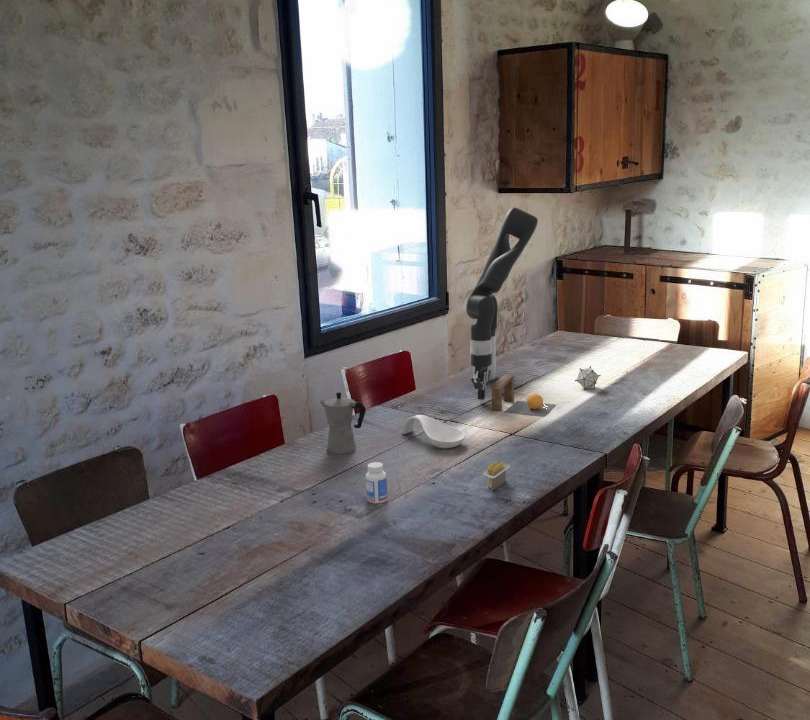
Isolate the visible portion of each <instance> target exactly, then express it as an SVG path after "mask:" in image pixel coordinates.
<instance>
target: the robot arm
mask: <svg viewBox="0 0 810 720" xmlns="http://www.w3.org/2000/svg"><path fill="white" fill-rule="evenodd" d="M537 226H538V218H537V217H536V216H535V215H533V214H530V213H528V212H526V211H524V210H522V209H520V208H517V207H511V208H510V209H509V210H508V211H507V213H506V215H505V217H504V219H503V222H502V225H501V228H500V230H499V233H498V236H497V239H496V241H495V244H494V246H493V248H492V250H491V252H490V255H489V256H488V258H487V261H486V263H485V265H484V268H483V270H482V272H481V275H480V277H479V279H478V281H477V283H476V285H475V286H474V288H473V290H472V292H471V293H470V294H469V296H468V297H467V302H466V305H465V306H466V307H465V308H466V314H467V317H469V318H471V319H472V320H476V321H474V322H472V324H471V325H470V347H469V348H470V349H469V352H470V355H469V379H470V380H471V383H472V385H473V387H474V389H475V390H477V400H481V401H483V400H484V399H486V389H487V387H488V385H489V381H490V382H491V381H493V380H496V372H497V371H496V331H497V328H498V327H497V325H498V301H497V299H496V296H495V295H494V294H496V293H498V292H500V290H501V289H502V288H503V284H504V283H505V281H506V280H507V279H508V278H509V276H510V275H509V274H510V273H511V270H512V269H513V266H514V264H516V262H517V260H518V259H519V257H520V256H521V255H522V253H523V251H524V249H525V248H526V246H527V245H528V243H529V241H531V240H530V239H531V238H532V237H533V234H534V233H535V232H536V231H535V230H536V228H537ZM510 236H513V237H514V238H516V239H518V240H517V241H518V242H517V243H516V244H515V245H514V246H513V247H511V246H510V245H511V244H510Z"/></svg>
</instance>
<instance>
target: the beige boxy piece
mask: <svg viewBox="0 0 810 720" xmlns="http://www.w3.org/2000/svg"><path fill="white" fill-rule="evenodd" d="M510 468H511V464H510V463H504V461H503V460H502V461H501V462H500V463H498V460H496V461H494V462H493V463H491V464H489V465H488V466H487V469H486V470H484V471H483V475H484V476H485V477H487V478H488V488H489V489H491V492H492V491H494V490H495V489H497V488H499V486H501V485H502V484H504V483H505V482H506V481H507V474H506V473H507V470H508V469H510Z"/></svg>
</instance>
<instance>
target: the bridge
mask: <svg viewBox="0 0 810 720" xmlns="http://www.w3.org/2000/svg"><path fill="white" fill-rule="evenodd" d="M514 385H515V375H514V374H506V373H505V374H504V375H503V376H502V377H501V378H499V379H498V380H497V381H494V383H492V384H491V412H497V413H500V412H502V411H503V402H511V403H512V402H514V399H515V386H514ZM502 393H503V394H502Z"/></svg>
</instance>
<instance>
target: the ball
mask: <svg viewBox="0 0 810 720" xmlns="http://www.w3.org/2000/svg"><path fill="white" fill-rule="evenodd" d="M526 401H527V405H528V407H529V408H531V409H533V410H537V409H539V408H541V407H542V405H543V403H544V399H543V396H541V395H540V394H539V393H531V394H529V395H528V397H527V399H526Z"/></svg>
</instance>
